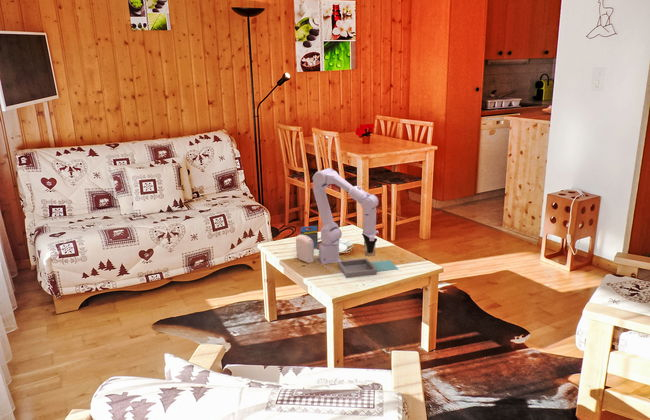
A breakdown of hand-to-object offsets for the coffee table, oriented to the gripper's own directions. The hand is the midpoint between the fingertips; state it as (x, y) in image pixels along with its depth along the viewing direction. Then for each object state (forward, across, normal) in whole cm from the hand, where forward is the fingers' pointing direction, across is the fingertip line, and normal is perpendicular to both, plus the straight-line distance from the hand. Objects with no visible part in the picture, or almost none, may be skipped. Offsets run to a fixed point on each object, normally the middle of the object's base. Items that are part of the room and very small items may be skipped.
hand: (369, 250), depth 233 cm
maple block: (+2, 0, 0) cm, 2 cm away
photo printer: (+9, +14, +29) cm, 33 cm away
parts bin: (+9, -1, +6) cm, 11 cm away
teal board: (+9, +2, -7) cm, 11 cm away
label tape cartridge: (+9, +30, +26) cm, 41 cm away
